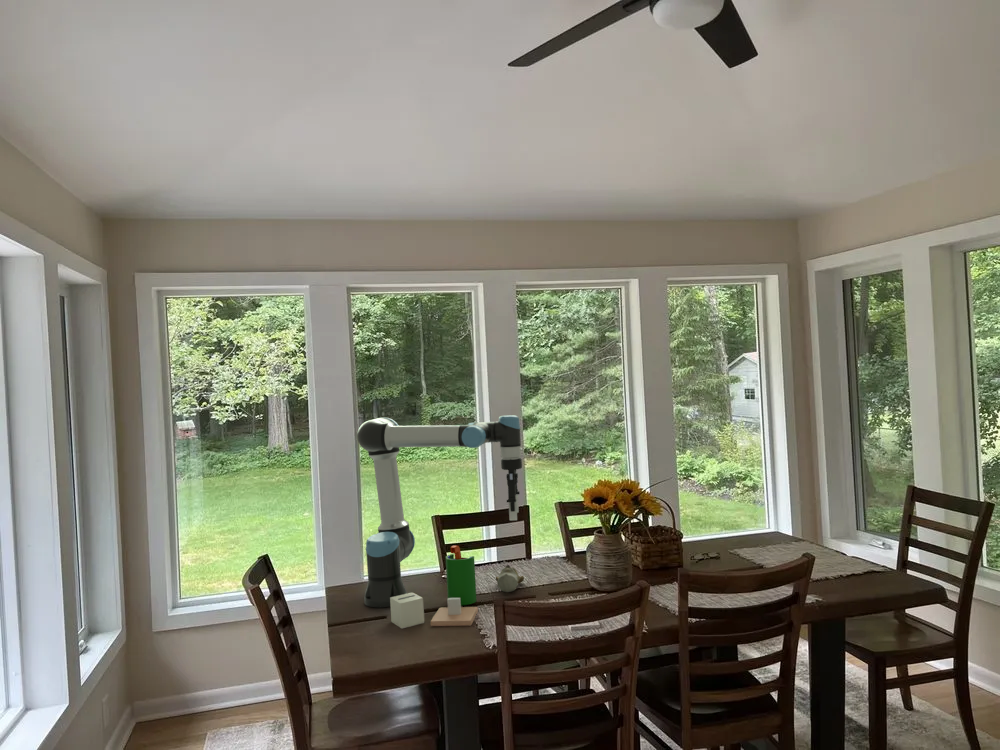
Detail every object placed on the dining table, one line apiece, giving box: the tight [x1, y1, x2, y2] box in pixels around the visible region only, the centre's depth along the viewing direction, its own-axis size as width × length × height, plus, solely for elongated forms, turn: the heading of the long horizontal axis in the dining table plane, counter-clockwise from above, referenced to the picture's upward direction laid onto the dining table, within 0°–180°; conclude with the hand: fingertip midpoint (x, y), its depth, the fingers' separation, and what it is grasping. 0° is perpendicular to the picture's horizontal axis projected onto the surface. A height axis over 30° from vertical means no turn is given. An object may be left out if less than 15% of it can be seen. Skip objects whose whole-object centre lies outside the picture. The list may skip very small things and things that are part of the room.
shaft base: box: [430, 597, 479, 627], centre depth 233 cm, size 13×13×6 cm
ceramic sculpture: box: [495, 564, 525, 593], centre depth 263 cm, size 11×9×15 cm
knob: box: [390, 592, 425, 629], centre depth 232 cm, size 8×8×8 cm
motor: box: [445, 545, 478, 606], centre depth 250 cm, size 10×9×20 cm
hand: (514, 516), depth 260 cm, fingers open, 13 cm apart
